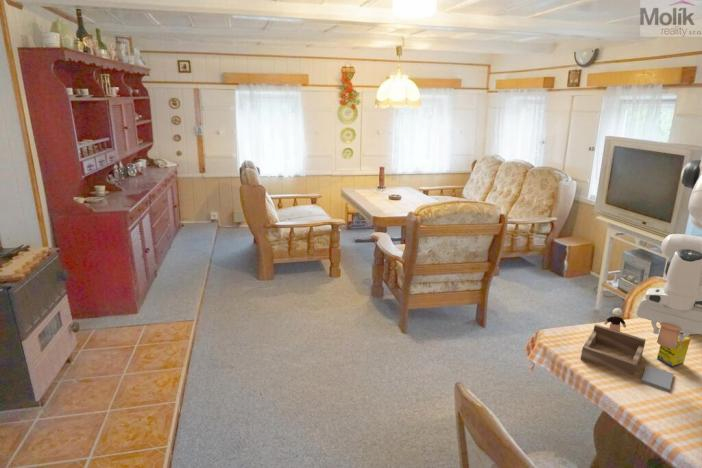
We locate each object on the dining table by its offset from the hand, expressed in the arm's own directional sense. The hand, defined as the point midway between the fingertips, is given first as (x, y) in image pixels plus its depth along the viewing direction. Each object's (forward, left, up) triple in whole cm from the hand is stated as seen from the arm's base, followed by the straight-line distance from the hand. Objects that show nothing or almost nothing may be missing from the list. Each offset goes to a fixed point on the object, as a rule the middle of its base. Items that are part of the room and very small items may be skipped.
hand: (668, 336), depth 151 cm
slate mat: (0, 0, -17) cm, 17 cm away
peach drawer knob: (0, 0, -3) cm, 3 cm away
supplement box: (-15, +2, -17) cm, 23 cm away
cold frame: (-4, -15, -17) cm, 23 cm away
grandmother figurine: (-20, -18, -17) cm, 32 cm away
